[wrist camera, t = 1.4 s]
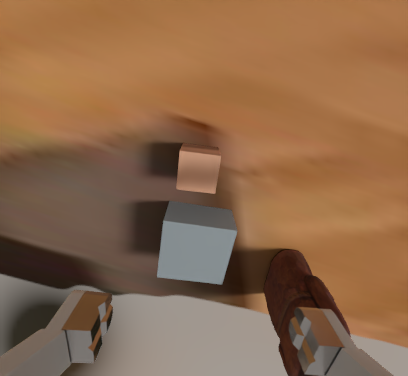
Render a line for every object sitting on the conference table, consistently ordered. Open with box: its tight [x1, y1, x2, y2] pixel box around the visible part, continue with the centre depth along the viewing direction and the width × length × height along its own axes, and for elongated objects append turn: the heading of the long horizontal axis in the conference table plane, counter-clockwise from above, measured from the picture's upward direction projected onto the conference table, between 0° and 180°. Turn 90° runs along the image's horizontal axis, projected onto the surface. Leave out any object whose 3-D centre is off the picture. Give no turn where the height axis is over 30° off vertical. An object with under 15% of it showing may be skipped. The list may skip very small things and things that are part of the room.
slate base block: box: [157, 201, 237, 285], centre depth 32 cm, size 10×10×6 cm
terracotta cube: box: [176, 143, 221, 194], centre depth 28 cm, size 5×5×5 cm
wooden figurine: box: [264, 250, 351, 376], centre depth 30 cm, size 12×6×18 cm, turn 173°
